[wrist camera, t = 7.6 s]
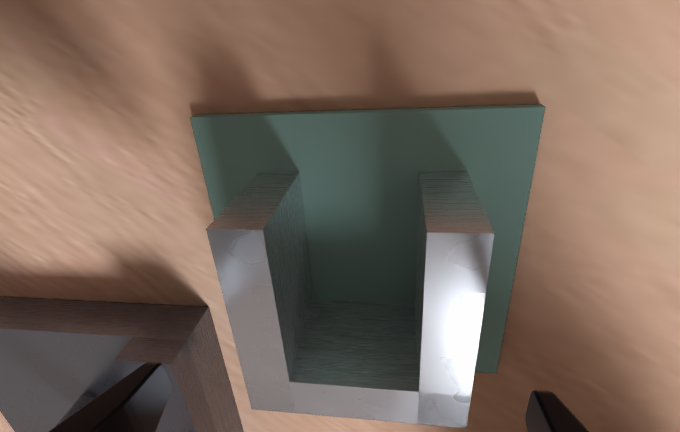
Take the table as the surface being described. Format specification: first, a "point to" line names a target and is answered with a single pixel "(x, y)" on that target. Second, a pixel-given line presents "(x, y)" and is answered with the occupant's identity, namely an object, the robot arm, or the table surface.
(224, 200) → the green mat
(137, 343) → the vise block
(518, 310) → the table surface
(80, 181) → the table surface
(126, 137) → the table surface
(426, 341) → the grey u-shaped bracket
